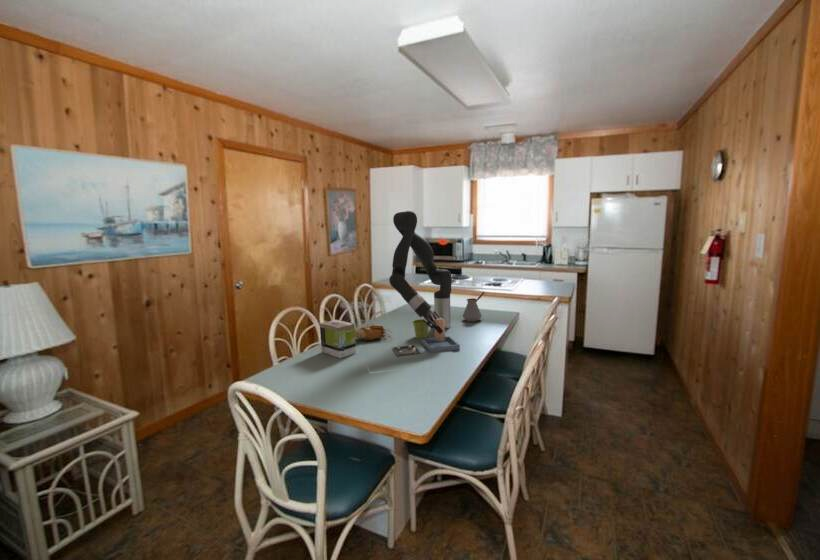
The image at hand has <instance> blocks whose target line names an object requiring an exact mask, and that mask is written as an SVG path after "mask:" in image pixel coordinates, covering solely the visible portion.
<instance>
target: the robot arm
mask: <svg viewBox="0 0 820 560" xmlns="http://www.w3.org/2000/svg"><path fill="white" fill-rule="evenodd" d="M392 219H393V220H392V221H393V225H394V227H395V228H396V230H397V231H398V232H399V233H400V234H401V236H402V237H401V239H400V240H399V243H398V244H397V246H396V248H395V250H394V252H393V258H392V263H391V264H392V265H391V266H392V271H391V275H390V277H389V281H388V282H389V285H390V286H391V287H392V288H393V289H395V291H397V293H398V294H400V296H401V298H402V299H403V300H404V301H405V303H407V304H408V306H409V307H410V308H411V309H412V310H413V311H414V312H415V314H416V315H418V317H420V318H422V317H423V318H424V320H423V321H424V322H425V323H426V324H427V325H428V326H429V327H428V328H430V329H434V328H435V329H434V331H435V330H436V331H437V332H438V333H439V334H441V333H442V332H443V330H442V329H441V328H440V327H439V326H438V325H437V323H436V320H435V319H438V318H442V319H444V320H445V330H446V329H448V328H451V325H452V324H451V321H452V319H451V318H452V317H451V315H452V314H451V293H452V280H453V278H452V273H451V271H450V270H448V269H445V268H444V269H443V268H441V269H440V268H438V266H437V265H436V264H435V261H434V254H435V253H434V250H433V248H432V246H431V245H430V243H429V242H428V241H427V240H426V238H425V237H422V236H421V235H420V234H419V233H417V232H415V231H416V228H417V225H418V217H417V214H416V213H415V212H414V211H412V210H406V211H398V212H395V214H394V215H393V217H392ZM410 248H411V250H412V251H413V253H414V255H415V256H416V258H417V260H419V262H420V263H421V265H422V266H423V268H424V270H425V272H426V274H427V276H428V278H429V280H430V281H431V283H432V284H433V285H435V286H439V290H437V291H434V293H433V303H434V306H433V307H434V311H431V308H432V306H431V305H430V304H429V302H427V301H426V300H425V298H424V297H423V296H422V295H421V294H419V292H417V291H416V290H415V288H413V287H412V286H411V285H410V283H409V282H408V281H407V279H406V269H407V264H408V257H409V251H410Z"/></svg>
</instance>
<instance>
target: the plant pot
mask: <svg viewBox="0 0 820 560" xmlns="http://www.w3.org/2000/svg"><path fill="white" fill-rule="evenodd" d="M424 319H425V318H424ZM424 319H423V318H422V319H419V318H418V319H414V320H413V321H412V324H413V328H414V334H415V338H417V339H427V338H428V334H429V328H430V327H429V326H428V325H427V324H426V323H425V322H424V321H423V320H424Z"/></svg>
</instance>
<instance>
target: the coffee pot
mask: <svg viewBox="0 0 820 560" xmlns="http://www.w3.org/2000/svg"><path fill="white" fill-rule="evenodd" d="M486 294H487V293H486V292H485V291H483V292H482V293H481V294H480V295H478V297H477V298H475V297H473V298H466V301H467V304H466V305H465V309H464V311H463V313H462V318H463V319H464V320H465V321H466V322H470V323H472V322H473V323H475V322H478V321H479V320H481V318H482V316H483V315H482V312H481V311H480V308H479V306H478V304H477V302H479V300H480V299H481V298H482V296H485V295H486Z"/></svg>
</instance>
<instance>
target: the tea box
mask: <svg viewBox="0 0 820 560" xmlns="http://www.w3.org/2000/svg"><path fill="white" fill-rule="evenodd" d="M355 329H356V328H355V323H353V322H348V321H345V320H340V319H333V320H328V321H324V322H321V323H319V332H320V344H321V345H320V346H321V353H324V354H326V355H329V356H332V357H334V358H339V359H344V358H346V357H348V356H351V355H354V354H356V353H357V345H356V337H355Z"/></svg>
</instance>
